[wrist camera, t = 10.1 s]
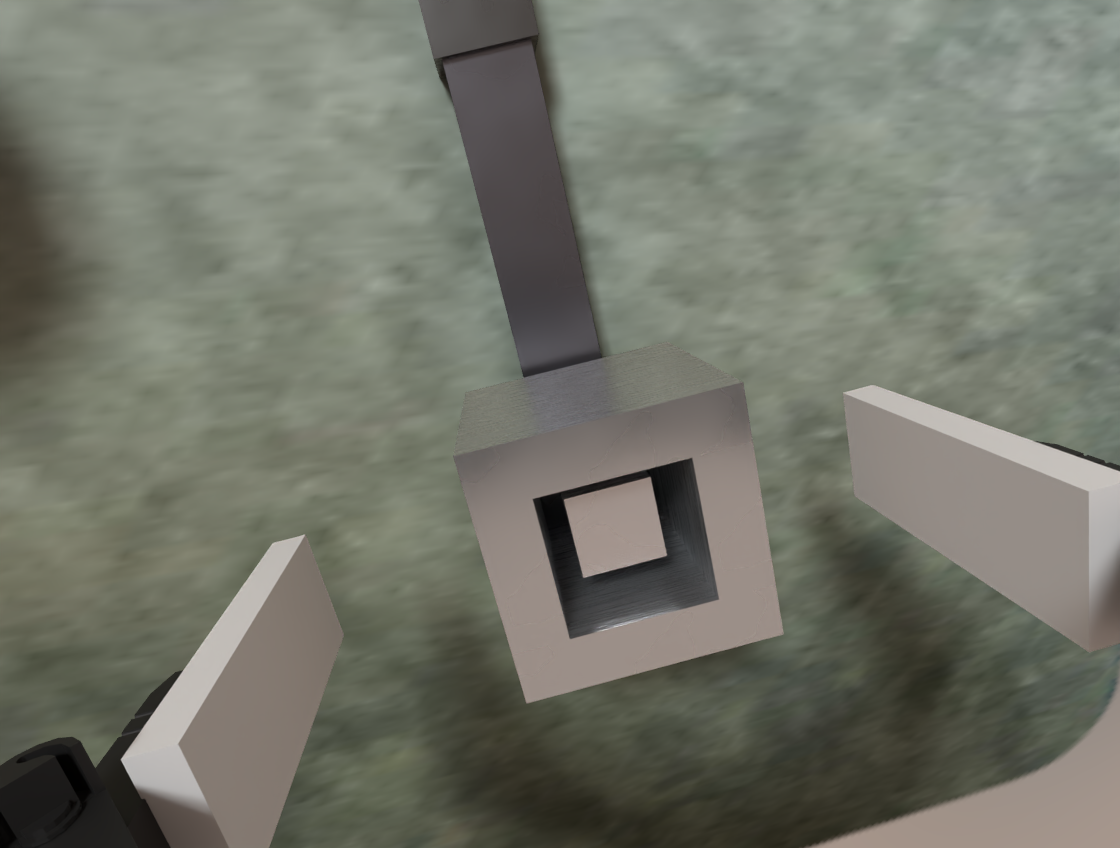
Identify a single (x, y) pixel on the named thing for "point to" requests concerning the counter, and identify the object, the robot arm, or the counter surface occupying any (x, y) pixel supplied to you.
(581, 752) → the counter surface
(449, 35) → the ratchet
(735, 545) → the socket
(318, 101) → the counter surface
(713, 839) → the counter surface
